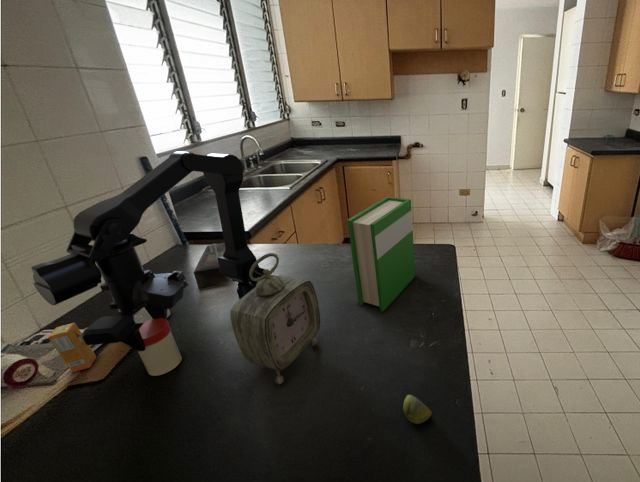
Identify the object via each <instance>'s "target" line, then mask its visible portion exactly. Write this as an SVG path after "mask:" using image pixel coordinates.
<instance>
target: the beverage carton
mask: <svg viewBox="0 0 640 482" xmlns="http://www.w3.org/2000/svg"><path fill="white" fill-rule="evenodd" d="M224 252H225V243H224V242H221V243H211V244H209V245H206V247H205V249H204V251H203V253H202V255H201V257H200V258H199V261H198V263H197V265H196V267H195V268H194V270H193V276H194V279H195V282H196V286H197V288H198V290H199V291H200V290H205V289H209V288H215V287H220V286H226V285H228V284H229V280H230V279H228V278H226V277H224V276H223V274H222V273H221V272H219V269H220V267H219V263H218V260H217V258H218V257H222V256H223V254H224Z"/></svg>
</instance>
